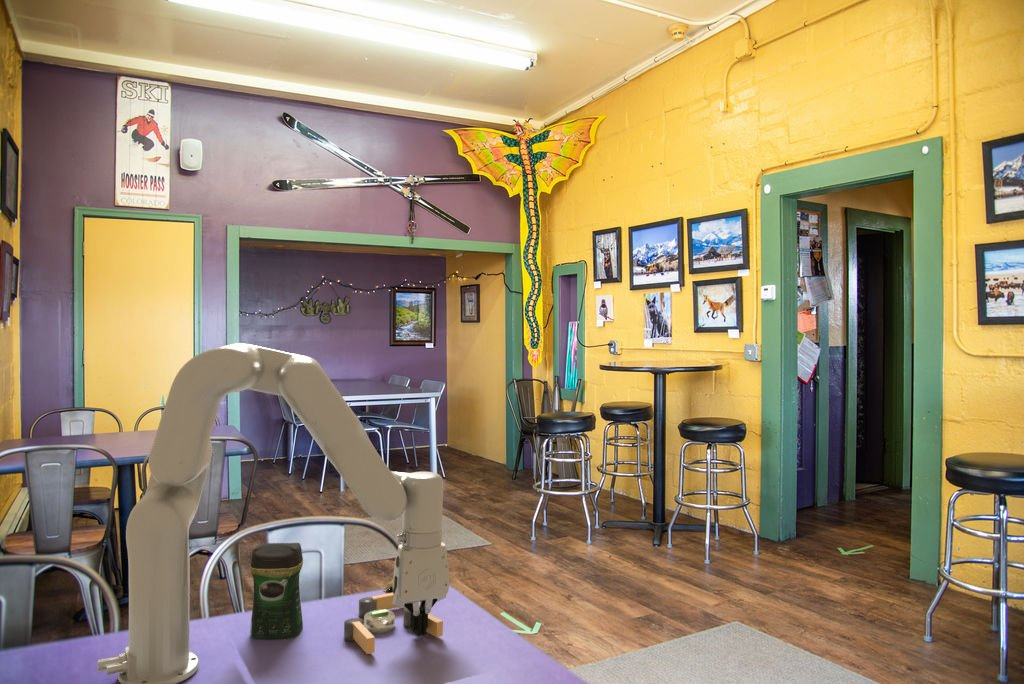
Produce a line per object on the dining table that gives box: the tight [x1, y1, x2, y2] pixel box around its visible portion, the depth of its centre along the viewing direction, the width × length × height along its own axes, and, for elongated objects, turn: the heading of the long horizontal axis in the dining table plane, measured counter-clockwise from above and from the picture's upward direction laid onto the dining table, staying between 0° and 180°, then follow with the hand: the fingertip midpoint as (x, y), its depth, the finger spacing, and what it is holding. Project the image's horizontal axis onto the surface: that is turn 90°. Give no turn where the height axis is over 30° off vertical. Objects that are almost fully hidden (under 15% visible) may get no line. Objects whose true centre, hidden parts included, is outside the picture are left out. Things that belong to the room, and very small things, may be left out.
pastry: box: [382, 578, 393, 593], centre depth 165 cm, size 9×7×4 cm
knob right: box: [402, 608, 444, 638], centre depth 141 cm, size 11×4×3 cm, turn 43°
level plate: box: [363, 609, 396, 634], centre depth 143 cm, size 18×18×4 cm
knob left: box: [343, 617, 376, 655], centre depth 134 cm, size 11×4×3 cm, turn 32°
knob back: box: [358, 592, 398, 619], centre depth 150 cm, size 11×4×3 cm, turn 122°
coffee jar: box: [249, 542, 304, 641], centre depth 140 cm, size 10×8×19 cm
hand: (418, 632), depth 138 cm, fingers closed
